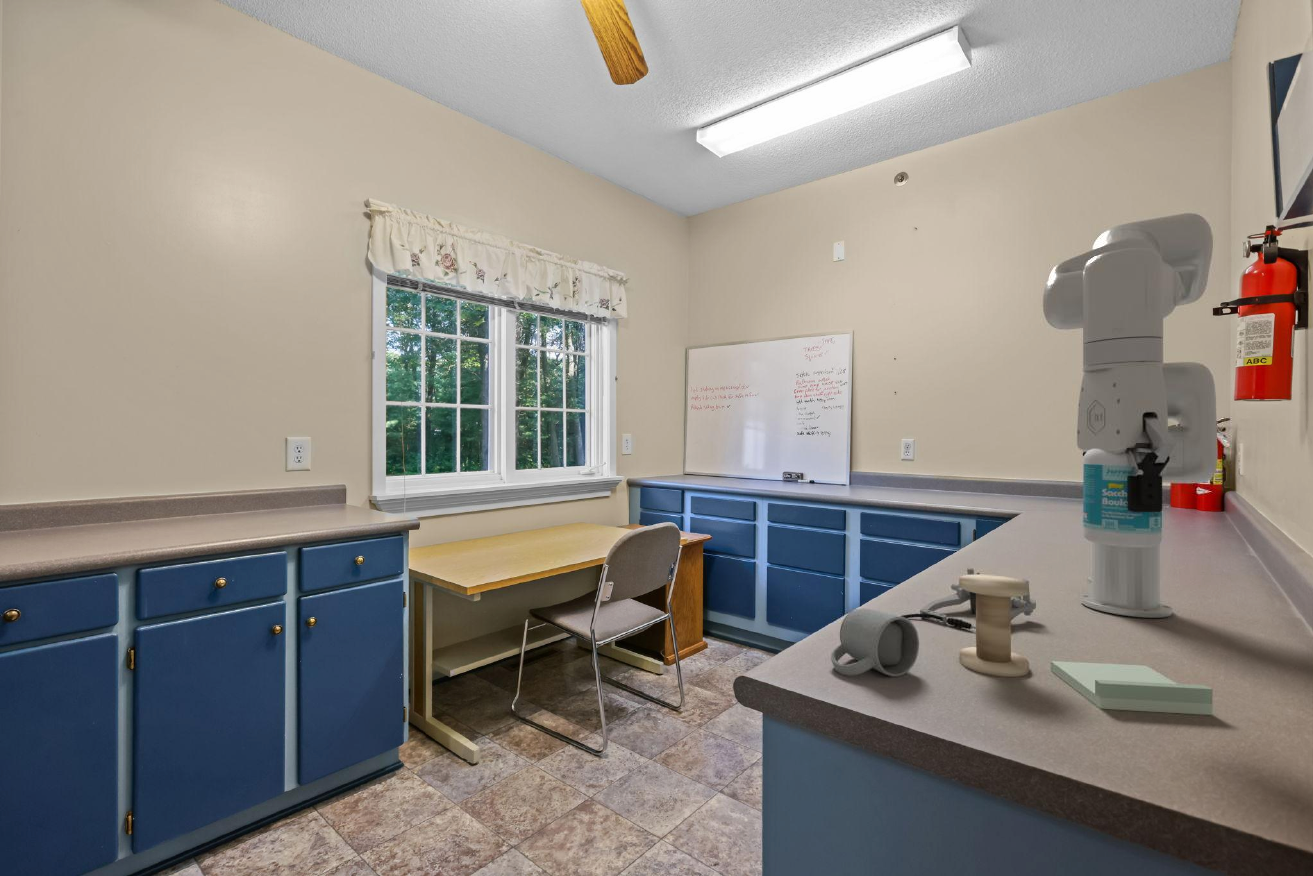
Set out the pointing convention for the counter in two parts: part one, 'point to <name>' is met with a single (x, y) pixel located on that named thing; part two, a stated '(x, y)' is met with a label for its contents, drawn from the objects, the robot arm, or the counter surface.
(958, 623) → the bike brake
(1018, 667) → the bobbin
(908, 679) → the counter surface
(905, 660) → the ceramic mug
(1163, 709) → the board
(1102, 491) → the pill bottle
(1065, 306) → the robot arm
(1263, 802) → the counter surface
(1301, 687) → the counter surface
